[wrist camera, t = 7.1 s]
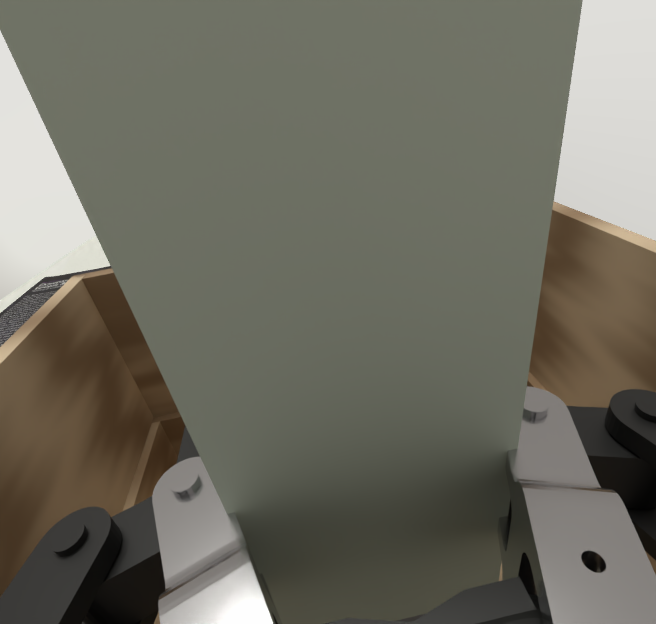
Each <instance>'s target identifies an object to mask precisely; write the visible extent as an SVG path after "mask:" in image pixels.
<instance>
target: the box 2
mask: <svg viewBox="0 0 656 624" xmlns="http://www.w3.org/2000/svg"><path fill="white" fill-rule="evenodd" d="M581 7H582V0H0V30H1V33H2V35H3V37H4V39H5V41H6V43H7V45H8V48H9V50H10V52H11V54H12V56H13V58H14V60H15V62H16V65H17V67H18V69H19V71H20V73H21V75H22V77H23V79H24V82H25V84H26V86H27V88H28V90H29V92H30V94H31V97H32V99H33V101H34V103H35V105H36V107H37V109H38V111H39V114H40V116H41V118H42V120H43V122H44V124H45V126H46V129H47V131H48V133H49V135H50V137H51V139H52V141H53V144H54V146H55V148H56V150H57V152H58V154H59V156H60V159H61V161H62V163H63V165H64V167H65V169H66V171H67V173H68V176H69V177H70V180H71V182H72V184H73V186H74V188H75V191H76V193H77V195H78V197H79V199H80V201H81V203H82V206H83V208H84V210H85V212H86V214H87V216H88V218H89V220H90V223H91V225H92V227H93V229H94V231H95V233H96V235H97V238H98V240H99V242H100V244H101V246H102V248H103V250H104V253H105V255H106V257H107V259H108V261H109V263H110V265H111V267H112V270H113V272H114V274H115V276H116V278H117V280H118V282H119V285H120V287H121V289H122V291H123V293H124V295H125V297H126V300H127V302H128V304H129V306H130V308H131V310H132V312H133V314H134V317H135V319H136V321H137V323H138V325H139V327H140V329H141V332H142V334H143V336H144V338H145V340H146V342H147V344H148V346H149V349H150V351H151V353H152V355H153V357H154V359H155V361H156V364H157V366H158V368H159V370H160V372H161V374H162V376H163V379H164V381H165V383H166V385H167V387H168V389H169V391H170V393H171V396H172V398H173V400H174V402H175V404H176V406H177V408H178V411H179V413H180V415H181V417H182V419H183V421H184V423H185V426H186V428H187V430H188V432H189V434H190V436H191V438H192V440H193V443H194V445H195V447H196V449H197V451H198V453H199V455H200V458H201V460H202V462H203V464H204V466H205V468H206V470H207V472H208V475H209V477H210V479H211V481H212V483H213V485H214V487H215V490H216V492H217V494H218V496H219V498H220V500H221V502H222V505H223V507H224V509H225V511H226V513H227V514H229V513H233V512H235V514H236V516H237V518H238V520H239V523H240V525H241V527H242V530H243V532H244V535H245V538H246V541H247V543H248V546H249V549H250V551H251V554H252V557H253V559H254V562H255V565H256V567H257V569H258V572H259V574H261V573H262V574H263V576H264V578H265V581H266V583H267V585H268V588H269V590H270V593H271V596H272V598H273V601H274V604H275V606H276V609H277V611H278V614H279V617H280V619H281V622H282V624H325V623H329V622H333V621H337V620H341V619H345V618H358V619H372V620H386V621H400V622H410V621H414V620H416V619H418V618H420V617H421V616H423V615H425V614H426V613H428V612H429V611H431V610H433V609H434V608H436V607H437V606H439V605H441V604H442V603H444V602H445V601H447V600H449V599H450V598H452V597H453V596H455V595H457V594H458V593H460V592H461V591H463V590H465V589H469V588H473V587H477V586H481V585H486V584H490V583H494V582H498V581H499V575H500V568H501V561H502V560H501V552H500V546H499V539H498V532H497V529H498V521H499V518H500V517H504V516H508V513H509V506H510V499H511V497H510V490H509V485H508V480H507V475H506V470H505V465H506V457H507V451H508V450H513V449H517V448H518V443H519V436H520V430H521V423H522V416H523V409H524V402H525V395H526V388H527V381H528V374H529V367H530V360H531V353H532V346H533V340H534V333H535V326H536V319H537V312H538V305H539V298H540V291H541V284H542V277H543V270H544V263H545V256H546V250H547V243H548V236H549V229H550V222H551V215H552V208H553V201H554V194H555V187H556V179H557V173H558V166H559V159H560V153H561V146H562V139H563V132H564V125H565V118H566V111H567V104H568V97H569V89H570V83H571V76H572V69H573V63H574V55H575V48H576V42H577V35H578V27H579V21H580V14H581Z"/></svg>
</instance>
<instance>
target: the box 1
mask: <svg viewBox="0 0 656 624" xmlns="http://www.w3.org/2000/svg"><path fill="white" fill-rule="evenodd" d="M111 268H112V267H111V266H109V267H104V268H99V269H93V270H88V271H82V272H77V273H71V274H66V275H60V276H54V277H45V278H43V279H42V280H41V281H39V282H38V283H37V284H36V285H34V286H33V287H32V288H31V289H29V290H28V291H27V292H26V293H25V294H23V295H22V296H21V297H20V298H18V299H17V300H16V301H15V302H13V303H12V304H11V305H10V306H9V307H7V308H6V309H5V310H4V311H3V312H1V313H0V347H1V346H2V345H3V344H4V343H5V342H6V341H7V340H8V339H9V338H10V337H11V336H12V335H13V334H14V333H15V332H16V331H17V330H18V329H19V328H20V327H21V326H22V325H23V324H24V323H25V322H26V321H27V320H28V319H29V318H30V317H31V316H33V315H34V314H35V313H36V312H37V311H38V310H39V309H40V308H41V307H42V306H43V305H44V304H45V303H46V302H47V301H48V300H49V299H50V298H51V297H52V296H53V295H54V294H55V293H56V292H57V291H58V290H59V289H60V288H61V287H62V286H63V285H64V284H65V283H66V282H67V281H68V280H69V279H70V278H71V277H72V276H74V275H80V274H85V273H90V272H95V271H101V270H106V269H111Z"/></svg>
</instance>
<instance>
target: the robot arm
mask: <svg viewBox="0 0 656 624" xmlns="http://www.w3.org/2000/svg"><path fill="white" fill-rule="evenodd" d="M505 470H506V475H507V480H508V485H509V490H510V497H511V499H510V506H509V513H508V516H504V517H500V518H499V521H498V529H497V532H498V539H499V546H500V552H501V560H502V581H498V582H494V583H490V584H486V585H481V586H477V587H473V588H469V589H465V590H463V591H461V592H460V593H458V594H457V595H455V596H453V597H452V598H450V599H449V600H447V601H445V602H444V603H442V604H441V605H439V606H437V607H436V608H434V609H433V610H431V611H429V612H428V613H426V614H425V615H423V616H421V617H420V618H418V619H416V620H414V621H410V622H400V621H386V620H372V619H358V618H345V619H341V620H337V621H333V622H329V623H325V624H656V574H655V572H654V570H653V568H652V565H651V563H650V561H649V559H648V557H647V554H646V552H647V553H648V554H649V555H650V556H651V557H652V558H654V559H655V560H656V392H653V391H648V390H641V389H628V390H623V391H620V392H618V393H616V394H614V395H613V397H612V398H611V400H610V403H609V407H608V408H604V407H576V406H567V405H565V403H564V402H563V401H562V400H561V399H560V398H558V397H557V396H556V395H554V394H552V393H550V392H548V391H546V390H543V389H540V388H535V387H529V386H528V385H527V388H526V395H525V402H524V409H523V416H522V423H521V430H520V436H519V443H518V448H517V449H513V450H508V451H507V457H506V465H505ZM645 551H646V552H645ZM158 612H159V618H160V624H282V622H281V619H280V617H279V614H278V611H277V609H276V606H275V604H274V601H273V598H272V596H271V593H270V590H269V588H268V585H267V583H266V581H265V578H264V576H263V574H262V573H261V574H259V572H258V569H257V567H256V565H255V562H254V559H253V557H252V554H251V551H250V549H249V546H248V543H247V541H246V538H245V535H244V532H243V530H242V527H241V525H240V523H239V520H238V518H237V516H236V514H235V512H233V513H229V514H227V513H226V511H225V509H224V507H223V505H222V502H221V500H220V498H219V496H218V494H217V492H216V490H215V487H214V485H213V483H212V481H211V479H210V477H209V475H208V472H207V470H206V468H205V466H204V464H203V462H202V460H201V458H200V455H199V453H198V451H197V449H196V447H195V445H194V443H193V440H192V438H191V436H190V434H189V432H188V430H187V428H186V426H185V429H184V433H183V437H182V442H181V446H180V450H179V455H178V459H177V463H176V464H175V465H174V466H172V467H171V468H170V469H169V470H167V471H166V472H165V473H164V474H163V475H162V477H161V478H160V479H159V481H158V482H157V484H156V486H155V488H154V491H153V495H152V496H151V497H149V498H148V499H146V500H144V501H142V502H140V503H138V504H136V505H134V506H132V507H130V508H128V509H126V510H124V511H122V512H120V513H118V514H116V515H115V516H113V517H111V516H110V515H109V513H108V512H107V511H106V510H105V509H103V508H100V507H86V508H82V509H80V510H77V511H75V512H73V513H71V514H69V515H67V516H66V517H64V518H63V519H61V520H60V521H59V522H57V523H56V524H55V525H54V526H53V527H52V528H50V529H49V531H48V532H47V533H46V534H45V535H44V536H43V538H42V539H41V540H40V541H39V543H38V544H37V546H36V547H35V549H34V550H33V551H32V553H31V554H30V556H29V557H28V559H27V560H26V561H25V563H24V564H23V566H22V567H21V569H20V570H19V571H18V573H17V574H16V576H15V577H14V579H13V580H12V581H11V583H10V584H9V586H8V587H7V589H6V590H5V591H4V593H3V594H2V596H1V597H0V624H154V622H155V619H156V617H157V614H158Z"/></svg>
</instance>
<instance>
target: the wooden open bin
mask: <svg viewBox="0 0 656 624" xmlns="http://www.w3.org/2000/svg"><path fill="white" fill-rule="evenodd" d="M527 385H528V386H529V387H535V388H540V389H543V390H546V391H548V392H550V393H552V394H554V395H556V396H557V397H558V398H560V399H561V400H562V401H563V402H564V403H565V405H567V406H576V407H604V408H608V407H609V403H610V400H611V398H612V397H613V395H614V394H616V393H618V392H620V391H623V390H628V389H641V390H648V391H653V392H656V241H655V240H652V239H649V238H647V237H644V236H642V235H639V234H636V233H634V232H631V231H629V230H626V229H624V228H621V227H618V226H616V225H613V224H611V223H608V222H605V221H603V220H600V219H598V218H595V217H592V216H590V215H587V214H585V213H582V212H580V211H576V210H574V209H572V208H569V207H567V206H564V205H562V204H559V203H556V202H554V201H553V208H552V215H551V222H550V229H549V236H548V243H547V250H546V256H545V263H544V270H543V277H542V284H541V291H540V298H539V305H538V312H537V319H536V326H535V333H534V340H533V346H532V353H531V360H530V367H529V374H528V381H527ZM184 429H185V423H184V421H183V419H182V417H181V415H180V413H179V411H178V408H177V406H176V404H175V402H174V400H173V398H172V396H171V393H170V391H169V389H168V387H167V385H166V383H165V381H164V379H163V376H162V374H161V372H160V370H159V368H158V366H157V364H156V361H155V359H154V357H153V355H152V353H151V351H150V349H149V346H148V344H147V342H146V340H145V338H144V336H143V334H142V332H141V329H140V327H139V325H138V323H137V321H136V319H135V317H134V314H133V312H132V310H131V308H130V306H129V304H128V302H127V300H126V297H125V295H124V293H123V291H122V289H121V287H120V285H119V282H118V280H117V278H116V276H115V274H114V272H113V270H112V268H111V269H106V270H101V271H95V272H90V273H85V274H80V275H74V276H72V277H71V278H70V279H69V280H68V281H67V282H66V283H65V284H64V285H63V286H62V287H61V288H60V289H59V290H58V291H57V292H56V293H55V294H54V295H53V296H52V297H51V298H50V299H49V300H48V301H47V302H46V303H45V304H44V305H43V306H42V307H41V308H40V309H39V310H38V311H37V312H36V313H35V314H34V315H33V316H31V317H30V318H29V319H28V320H27V321H26V322H25V323H24V324H23V325H22V326H21V327H20V328H19V329H18V330H17V331H16V332H15V333H14V334H13V335H12V336H11V337H10V338H9V339H8V340H7V341H6V342H5V343H4V344H3V345H2V346H1V347H0V597H1V596H2V594H3V593H4V591H5V590H6V589H7V587H8V586H9V584H10V583H11V581H12V580H13V579H14V577H15V576H16V574H17V573H18V571H19V570H20V569H21V567H22V566H23V564H24V563H25V561H26V560H27V559H28V557H29V556H30V554H31V553H32V551H33V550H34V549H35V547H36V546H37V544H38V543H39V541H40V540H41V539H42V538H43V536H44V535H45V534H46V533H47V532H48V531H49V529H50V528H52V527H53V526H54V525H55V524H56V523H57V522H59V521H60V520H61V519H63V518H64V517H66V516H67V515H69V514H71V513H73V512H75V511H77V510H80V509H82V508H86V507H100V508H103V509H105V510H106V511H107V512H108V513H109V515H110V516H111V517H113V516H115V515H116V514H118V513H120V512H122V511H124V510H126V509H128V508H130V507H132V506H134V505H136V504H138V503H140V502H142V501H144V500H146V499H148V498H149V497H151V496H152V495H153V491H154V488H155V486H156V484H157V482H158V481H159V479H160V478H161V477H162V475H163V474H164V473H165V472H166V471H167V470H169V469H170V468H171V467H172V466H174V465H175V464H176V463H177V459H178V455H179V450H180V446H181V442H182V437H183V433H184ZM645 552H646V551H645ZM646 554H647V557H648V559H649V561H650V563H651V565H652V568H653V570H654V572H655V574H656V560H655V559H654V558H652V557H651V556H650V555H649V554H648V553H647V552H646ZM499 581H502V561H501V568H500V575H499ZM154 624H160V618H159V612H158V614H157V617H156V619H155V622H154Z"/></svg>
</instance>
